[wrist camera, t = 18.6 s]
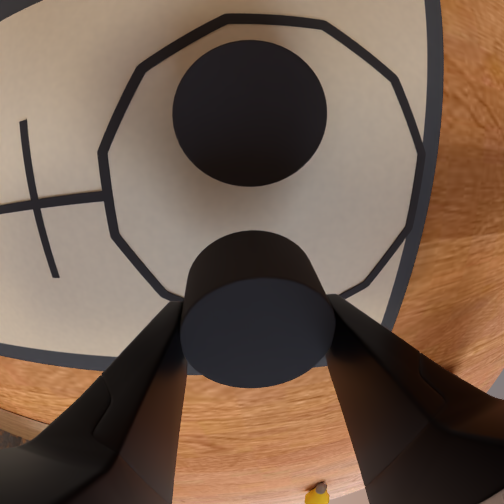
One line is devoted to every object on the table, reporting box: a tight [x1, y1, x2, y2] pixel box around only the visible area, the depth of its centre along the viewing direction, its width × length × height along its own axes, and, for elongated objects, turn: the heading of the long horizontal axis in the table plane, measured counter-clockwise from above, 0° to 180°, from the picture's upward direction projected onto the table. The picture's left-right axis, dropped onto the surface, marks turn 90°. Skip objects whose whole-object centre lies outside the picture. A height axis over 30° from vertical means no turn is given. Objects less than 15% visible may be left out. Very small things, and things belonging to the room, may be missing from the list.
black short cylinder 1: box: [172, 40, 327, 187], centre depth 8 cm, size 4×4×2 cm
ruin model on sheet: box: [0, 409, 49, 449], centre depth 18 cm, size 25×16×10 cm, turn 87°
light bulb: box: [305, 483, 329, 504], centre depth 30 cm, size 3×6×4 cm, turn 178°
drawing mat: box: [0, 0, 444, 375], centre depth 10 cm, size 35×20×1 cm, turn 90°
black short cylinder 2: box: [179, 230, 336, 388], centre depth 8 cm, size 4×4×2 cm
